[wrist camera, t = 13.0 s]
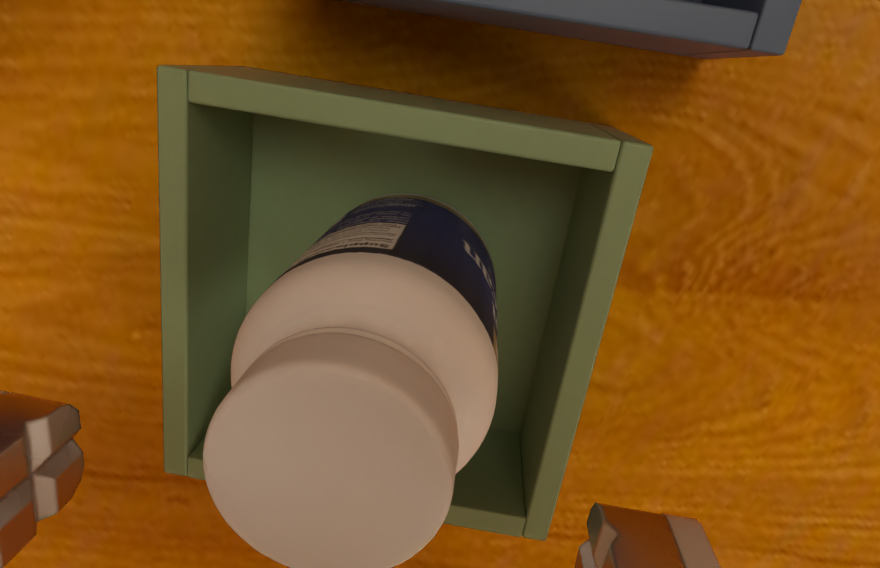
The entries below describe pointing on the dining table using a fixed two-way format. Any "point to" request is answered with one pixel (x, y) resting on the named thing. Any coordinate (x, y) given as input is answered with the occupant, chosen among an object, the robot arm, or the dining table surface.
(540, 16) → the blue bin
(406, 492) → the pill bottle
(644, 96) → the dining table surface
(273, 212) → the green bin
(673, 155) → the dining table surface
